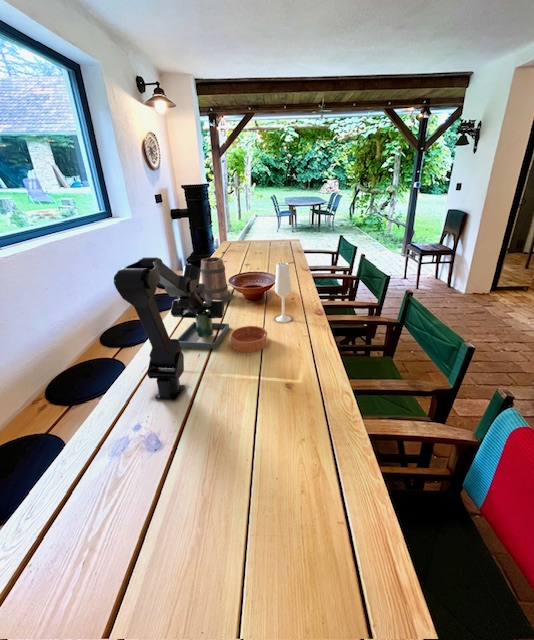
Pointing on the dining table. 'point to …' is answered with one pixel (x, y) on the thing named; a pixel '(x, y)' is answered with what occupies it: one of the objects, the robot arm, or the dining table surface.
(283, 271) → the champagne flute
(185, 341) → the tray
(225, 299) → the tankard
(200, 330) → the bottle
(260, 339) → the bowl
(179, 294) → the robot arm
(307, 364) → the dining table surface
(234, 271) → the dining table surface
